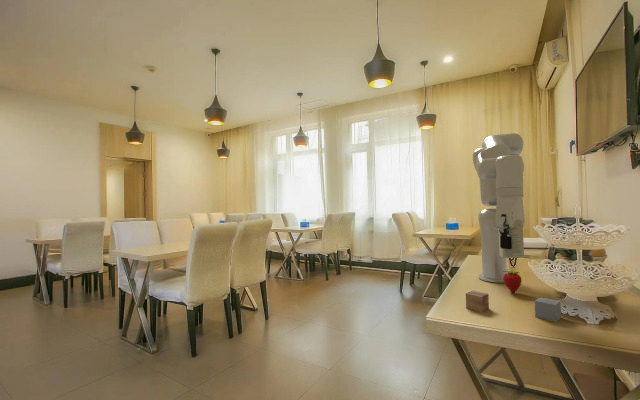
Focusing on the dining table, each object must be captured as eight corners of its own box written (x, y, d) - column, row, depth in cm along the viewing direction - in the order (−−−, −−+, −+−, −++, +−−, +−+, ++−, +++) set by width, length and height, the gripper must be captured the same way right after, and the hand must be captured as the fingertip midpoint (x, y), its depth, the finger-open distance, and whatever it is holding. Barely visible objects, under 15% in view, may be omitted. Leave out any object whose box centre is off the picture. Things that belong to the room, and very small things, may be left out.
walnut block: (473, 305, 102) (473, 290, 102) (488, 309, 98) (488, 293, 98) (466, 308, 99) (465, 293, 99) (481, 312, 95) (481, 296, 95)
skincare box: (519, 255, 100) (518, 219, 100) (524, 258, 96) (523, 220, 95) (498, 255, 102) (497, 219, 101) (502, 257, 97) (501, 220, 97)
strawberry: (503, 294, 112) (502, 268, 112) (503, 289, 118) (502, 264, 118) (522, 297, 109) (521, 269, 109) (521, 291, 115) (520, 265, 115)
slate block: (541, 313, 93) (540, 297, 93) (560, 318, 89) (560, 301, 89) (535, 317, 90) (534, 300, 90) (555, 322, 86) (555, 305, 86)
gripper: (507, 192, 107) (509, 242, 107) (485, 194, 96) (487, 249, 96) (532, 192, 101) (533, 245, 101) (511, 193, 90) (513, 252, 90)
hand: (510, 246), depth 99 cm, fingers closed on skincare box, 6 cm apart
